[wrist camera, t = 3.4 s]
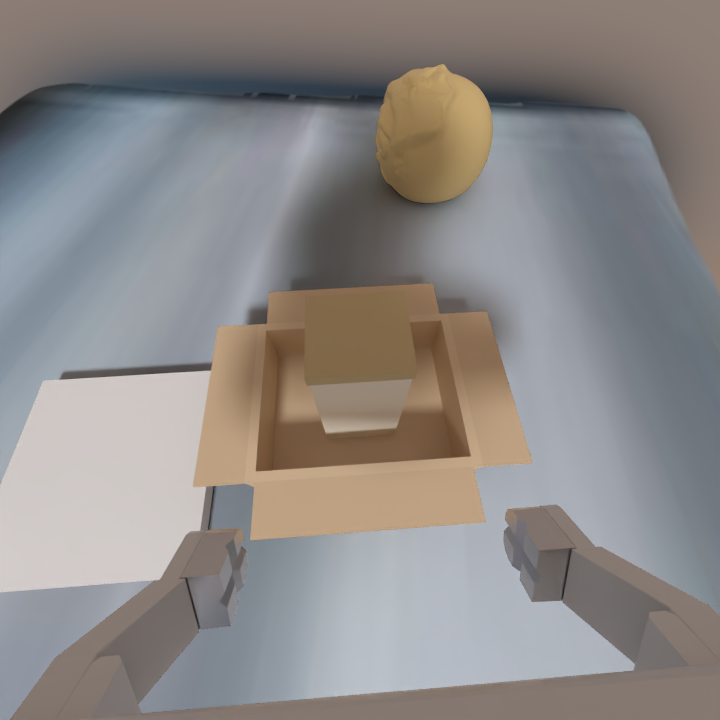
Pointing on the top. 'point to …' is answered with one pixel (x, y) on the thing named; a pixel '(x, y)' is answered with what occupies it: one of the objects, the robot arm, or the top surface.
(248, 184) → the top surface
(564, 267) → the top surface
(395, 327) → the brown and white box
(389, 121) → the sculpture
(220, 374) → the carton
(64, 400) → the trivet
